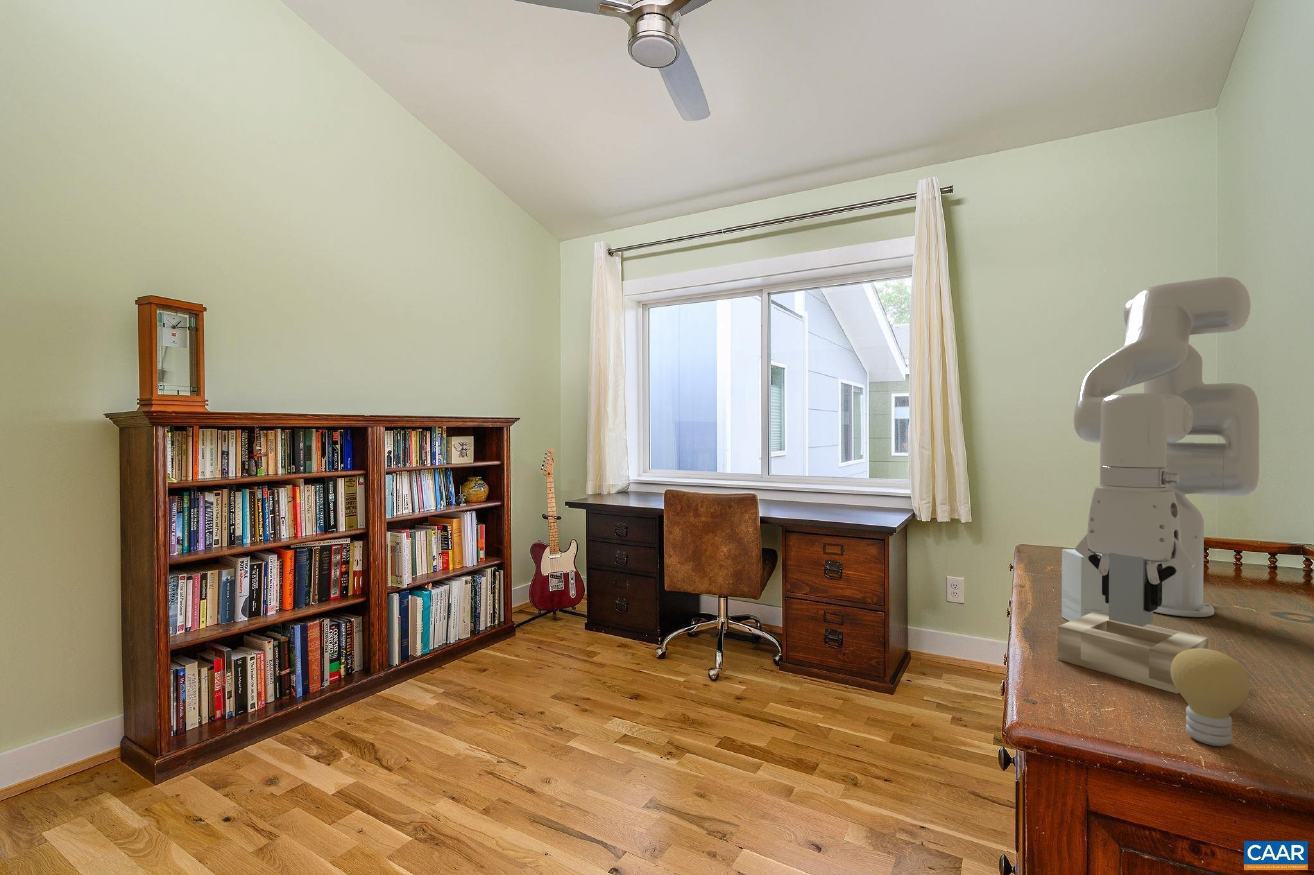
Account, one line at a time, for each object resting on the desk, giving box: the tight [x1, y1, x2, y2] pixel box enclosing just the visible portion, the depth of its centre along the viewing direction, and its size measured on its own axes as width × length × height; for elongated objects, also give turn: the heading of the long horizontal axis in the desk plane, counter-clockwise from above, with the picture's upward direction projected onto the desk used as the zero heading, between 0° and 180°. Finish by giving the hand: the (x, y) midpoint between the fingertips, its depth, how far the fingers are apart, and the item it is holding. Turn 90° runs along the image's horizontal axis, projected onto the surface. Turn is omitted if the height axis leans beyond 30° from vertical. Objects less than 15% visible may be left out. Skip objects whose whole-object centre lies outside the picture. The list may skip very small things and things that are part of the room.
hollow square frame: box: [1057, 612, 1209, 695], centre depth 87 cm, size 12×14×5 cm
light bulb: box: [1171, 648, 1251, 747], centre depth 66 cm, size 6×6×10 cm
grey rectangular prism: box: [1109, 552, 1154, 627], centre depth 87 cm, size 4×4×10 cm
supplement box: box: [1061, 548, 1109, 622], centre depth 106 cm, size 7×7×13 cm
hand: (1131, 604), depth 87 cm, fingers closed on grey rectangular prism, 4 cm apart
